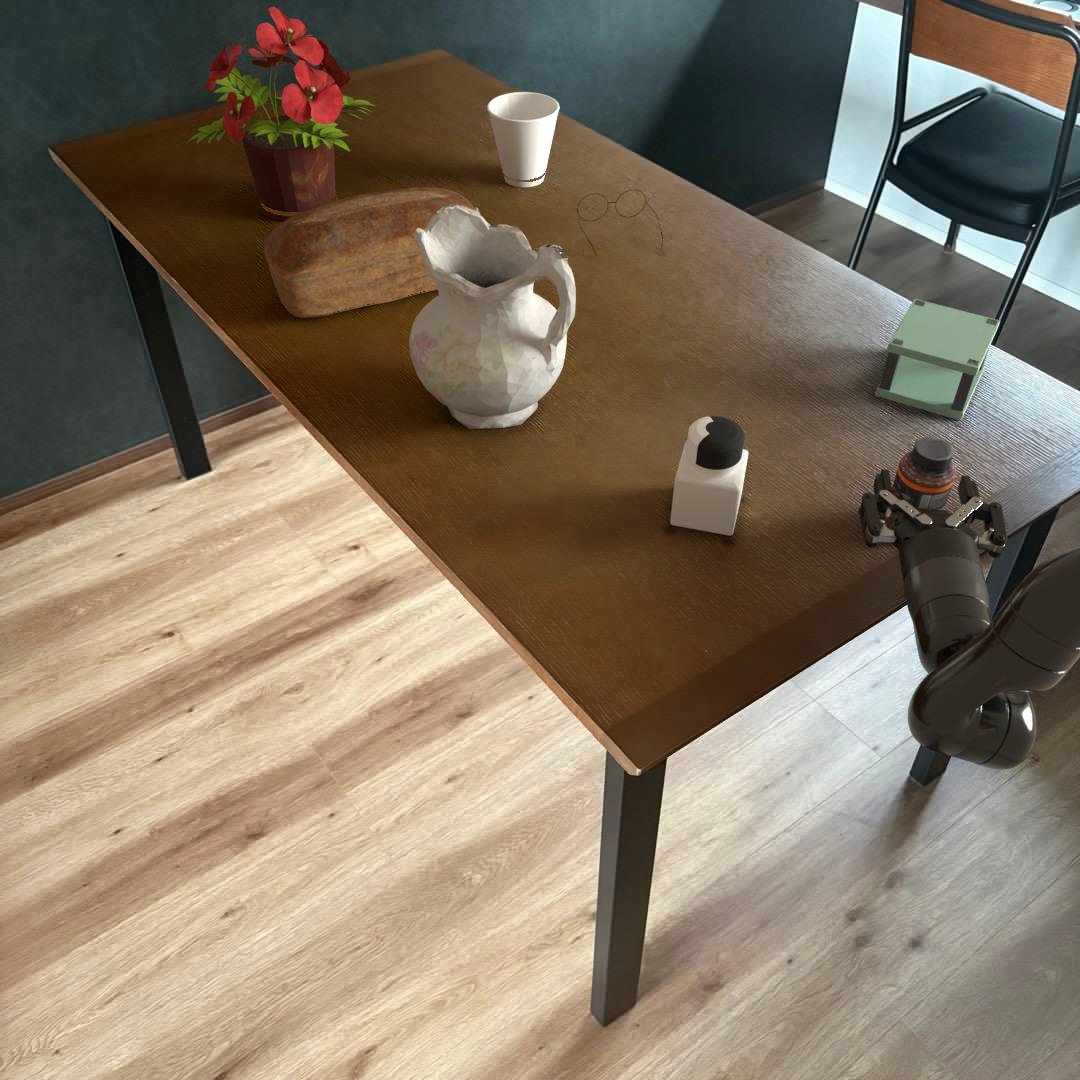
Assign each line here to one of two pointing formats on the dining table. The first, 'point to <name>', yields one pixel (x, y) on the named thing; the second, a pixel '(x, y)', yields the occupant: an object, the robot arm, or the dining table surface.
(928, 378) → the shelf rack
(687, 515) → the medicine bottle
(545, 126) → the cup
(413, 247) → the bread
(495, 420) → the ceramic pitcher
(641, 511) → the dining table surface
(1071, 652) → the robot arm
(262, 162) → the potted plant
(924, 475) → the supplement bottle
